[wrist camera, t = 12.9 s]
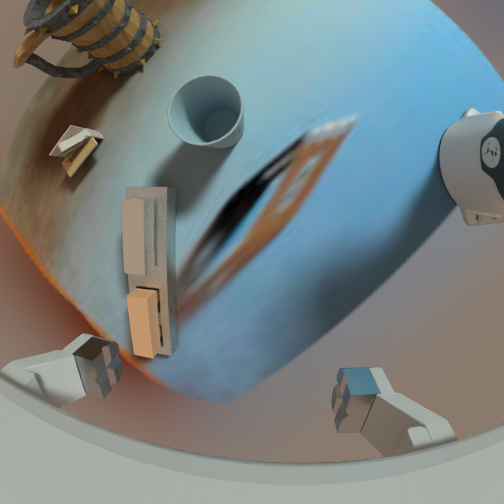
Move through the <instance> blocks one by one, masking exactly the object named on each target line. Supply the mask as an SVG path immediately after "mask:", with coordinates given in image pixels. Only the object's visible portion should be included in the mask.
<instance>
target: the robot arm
mask: <svg viewBox="0 0 504 504" xmlns="http://www.w3.org/2000/svg"><path fill="white" fill-rule="evenodd" d="M440 168H441V173H442V177H443V180H444V183H445V185H446V188H447V190H448V192H449V193H450V195H451V197H452V198H453V199H454V200H455V202H456V203H457V204H458V206H459V207H460V209H461V212H462V215H463V218H464V221H465V222H466V224H467V225H481V224H491V223H499V222H504V115H503V114H502V113H501V112H499V111H494V112H487V113H479V112H478V111H477V110H475V109H473V108H471V109H467V110H466V111H465V113H464V115H463V117H462V118H461V119H460V120H459V121H457V122H455V123H453V124H452V125H450V126H449V127H448V129H447V130H446V131H445V133H444V135H443V138H442V141H441V145H440ZM475 217H476V218H475ZM118 353H119V348H118V344H117V343H116V342H115V341H111V340H107V339H104V338H100V337H96V336H93V335H89V334H82V335H80V336H79V337H78V338H77V339H75V340H74V341H73V342H72V343H70V344H69V345H68V346H67V347H66V348H64V349H63V350H62V351H60V350H57V351H53V352H49V353H45V354H41V355H36V356H32V357H28V358H24V359H20V360H15V361H12V362H11V363H9V364H8V365H7V366H6V367H4V368H3V369H1V370H0V504H504V423H503V424H501V425H499V426H496V427H494V428H491V429H488V430H486V431H483V432H480V433H478V434H475V435H472V436H469V437H466V438H463V439H460V440H458V439H457V437H456V435H455V434H454V432H453V430H452V428H451V427H450V425H449V423H448V422H447V420H446V419H444V418H442V417H440V416H438V415H437V414H435V413H433V412H431V411H430V410H428V409H426V408H424V407H422V406H421V405H419V404H417V403H415V402H414V401H412V400H410V399H409V398H407V397H405V396H403V395H402V394H400V393H394V391H393V389H392V387H391V385H390V383H389V381H388V379H387V377H386V375H385V374H384V372H383V370H382V368H381V367H367V368H340V370H339V372H338V375H337V380H338V384H337V385H336V386H335V387H334V390H333V394H332V409H333V412H334V413H335V414H336V418H335V424H336V429H337V433H356V432H361V434H362V435H363V436H364V437H365V438H366V439H367V440H368V441H369V442H370V443H371V444H372V445H373V446H374V447H375V448H376V449H377V450H378V451H379V452H380V453H381V454H382V455H384V456H385V457H380V458H372V459H363V460H354V461H342V462H323V463H283V462H281V463H280V462H263V461H251V460H240V459H232V458H225V457H218V456H211V455H205V454H200V453H194V452H189V451H184V450H179V449H174V448H170V447H166V446H162V445H158V444H154V443H151V442H147V441H144V440H140V439H137V438H133V437H130V436H127V435H124V434H121V433H118V432H115V431H112V430H109V429H106V428H104V427H101V426H98V425H96V424H93V423H91V422H88V421H86V420H83V419H81V418H79V417H76V416H74V415H72V414H69V413H67V412H65V411H63V410H61V409H59V408H61V407H63V406H65V405H67V404H69V403H71V402H73V401H75V400H77V399H79V398H81V397H83V396H85V395H86V394H87V395H90V396H93V397H96V398H99V399H103V400H104V399H105V397H107V395H108V394H109V392H110V391H111V385H114V384H116V383H117V382H118V381H119V380H120V377H121V374H122V363H121V361H120V359H119V358H118V356H117V355H118Z"/></svg>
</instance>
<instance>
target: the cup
mask: <svg viewBox="0 0 504 504" xmlns="http://www.w3.org/2000/svg"><path fill="white" fill-rule="evenodd" d="M167 114H168V122H169V125H170V127H171V129H172V131H173V132H174V134H175V135H176V136H177V137H178V138H179V139H181V140H182V141H184V142H186V143H188V144H192V145H197V146H205V147H212V148H220V149H222V148H229V147H231V146H233V145H234V144H236V143H237V142H238V141H239V140H240V138H241V137H242V135H243V130H244V104H243V98H242V95H241V93H240V91H239V89H238V88H237V86H236V85H235V84H234V83H233V82H232V81H230V80H229V79H227V78H225V77H222V76H219V75H213V74H206V75H200V76H196V77H194V78H191V79H189V80H188V81H186V82H184V83H183V84H182V85H181V86H180V87H179V88H178V89H177V90H176V91H175V93H174V94H173V96H172V98H171V100H170V102H169V106H168V113H167Z"/></svg>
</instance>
